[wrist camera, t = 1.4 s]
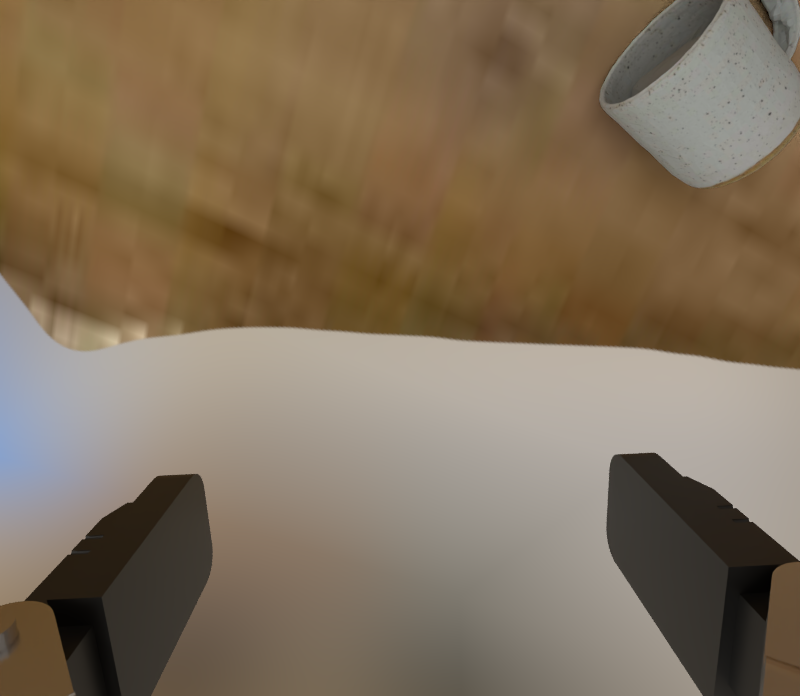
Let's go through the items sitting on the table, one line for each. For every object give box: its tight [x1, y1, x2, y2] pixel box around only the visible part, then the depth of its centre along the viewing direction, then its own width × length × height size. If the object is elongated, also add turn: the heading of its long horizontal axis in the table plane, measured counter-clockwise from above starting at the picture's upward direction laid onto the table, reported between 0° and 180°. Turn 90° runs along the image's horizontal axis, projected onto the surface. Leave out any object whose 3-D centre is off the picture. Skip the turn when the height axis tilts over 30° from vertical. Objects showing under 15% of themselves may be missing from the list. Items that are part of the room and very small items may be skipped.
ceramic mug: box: [599, 0, 800, 189], centre depth 29 cm, size 11×8×8 cm
